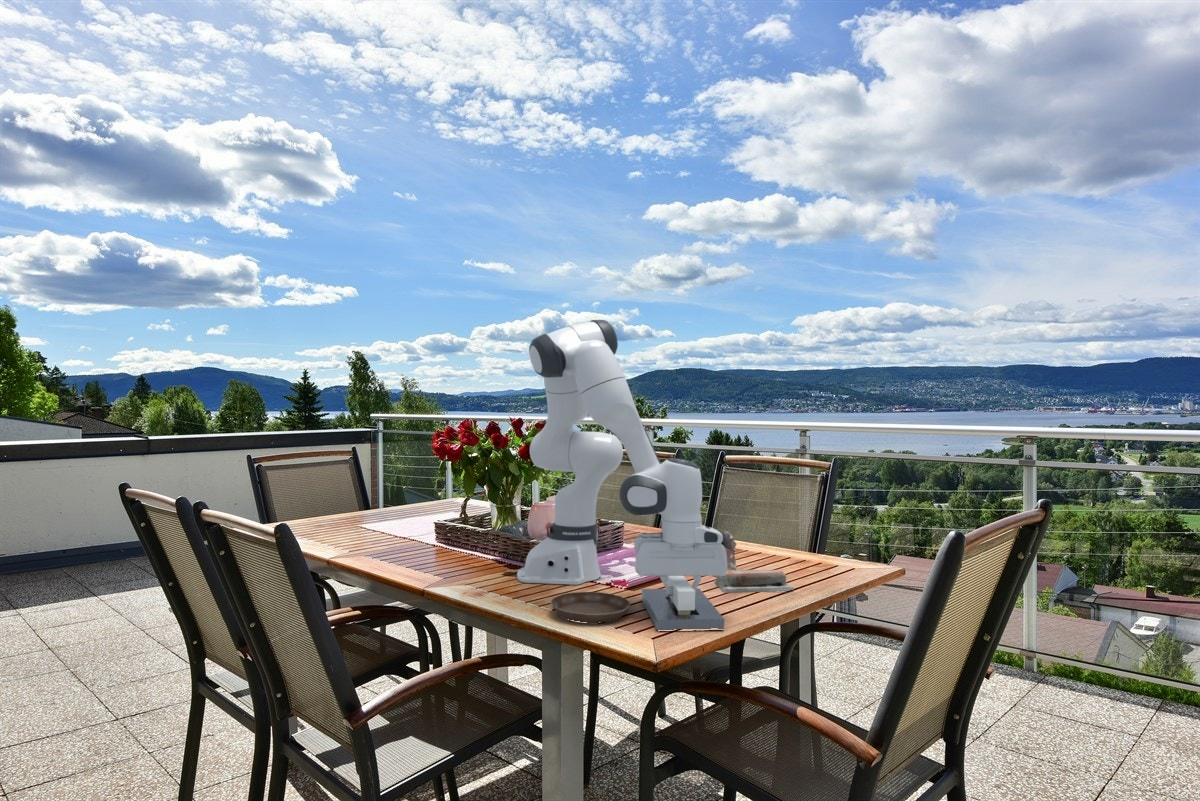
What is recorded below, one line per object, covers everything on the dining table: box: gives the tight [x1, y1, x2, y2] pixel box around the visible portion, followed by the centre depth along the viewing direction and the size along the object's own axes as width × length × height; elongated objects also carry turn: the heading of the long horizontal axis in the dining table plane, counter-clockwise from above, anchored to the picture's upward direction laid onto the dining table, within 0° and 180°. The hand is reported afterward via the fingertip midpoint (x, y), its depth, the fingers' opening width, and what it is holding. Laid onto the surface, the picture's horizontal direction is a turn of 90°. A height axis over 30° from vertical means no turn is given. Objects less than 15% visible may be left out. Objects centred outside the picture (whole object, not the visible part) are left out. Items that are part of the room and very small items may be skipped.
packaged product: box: [713, 569, 795, 594], centre depth 188 cm, size 18×5×10 cm
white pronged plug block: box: [666, 576, 695, 615], centre depth 162 cm, size 14×4×7 cm, turn 4°
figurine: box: [714, 530, 738, 578], centre depth 201 cm, size 7×7×12 cm
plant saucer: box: [550, 591, 631, 623], centre depth 164 cm, size 18×18×3 cm
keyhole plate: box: [641, 588, 725, 631], centre depth 164 cm, size 24×14×2 cm, turn 5°
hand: (680, 595), depth 162 cm, fingers closed on white pronged plug block, 4 cm apart
